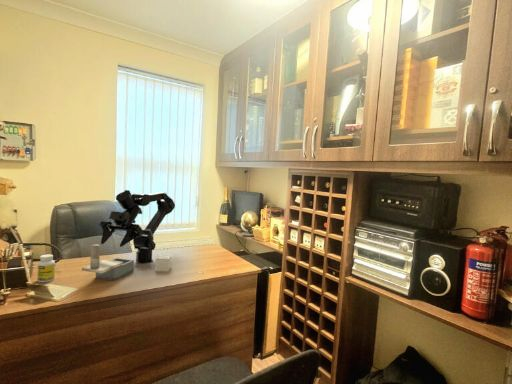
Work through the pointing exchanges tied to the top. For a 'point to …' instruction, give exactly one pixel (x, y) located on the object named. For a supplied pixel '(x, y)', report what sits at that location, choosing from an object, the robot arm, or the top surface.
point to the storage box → (118, 270)
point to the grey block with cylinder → (100, 262)
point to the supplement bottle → (46, 268)
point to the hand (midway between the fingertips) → (111, 245)
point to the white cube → (163, 263)
